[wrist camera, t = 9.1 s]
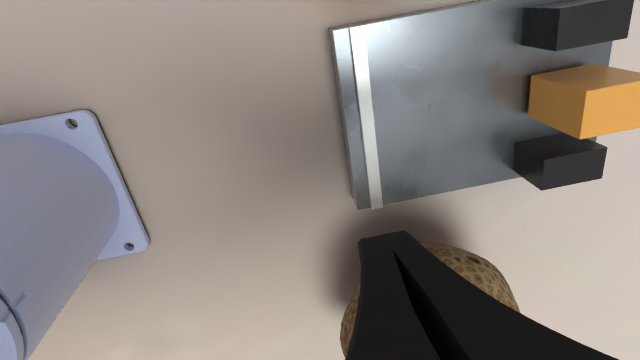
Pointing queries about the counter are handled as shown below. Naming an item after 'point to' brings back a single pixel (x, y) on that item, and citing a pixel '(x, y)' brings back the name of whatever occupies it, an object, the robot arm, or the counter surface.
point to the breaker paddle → (586, 100)
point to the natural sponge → (459, 261)
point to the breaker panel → (465, 95)
